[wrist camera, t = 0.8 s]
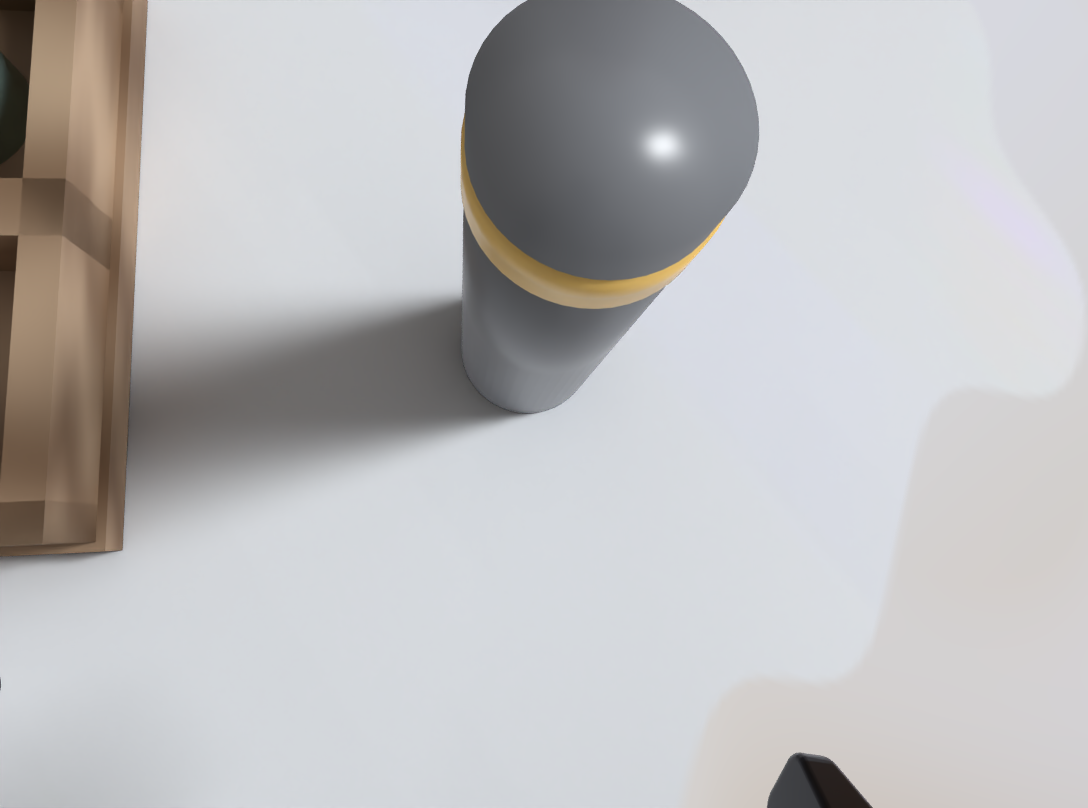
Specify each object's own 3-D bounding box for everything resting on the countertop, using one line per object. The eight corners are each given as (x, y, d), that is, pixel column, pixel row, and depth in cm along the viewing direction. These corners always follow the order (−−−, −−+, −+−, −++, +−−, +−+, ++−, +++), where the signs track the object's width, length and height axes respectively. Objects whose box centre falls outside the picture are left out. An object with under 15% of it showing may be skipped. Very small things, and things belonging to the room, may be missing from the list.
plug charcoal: (595, 412, 22) (777, 260, 10) (461, 416, 22) (466, 261, 9) (588, 284, 23) (747, -16, 10) (457, 285, 23) (457, -29, 10)
